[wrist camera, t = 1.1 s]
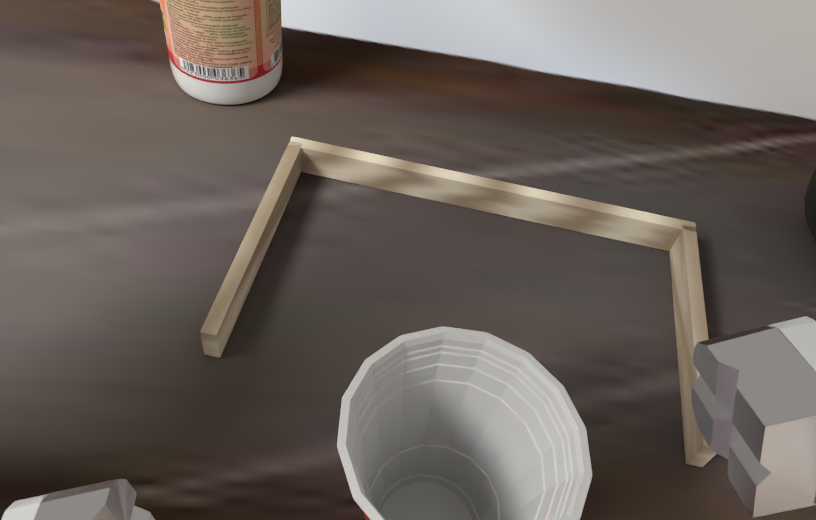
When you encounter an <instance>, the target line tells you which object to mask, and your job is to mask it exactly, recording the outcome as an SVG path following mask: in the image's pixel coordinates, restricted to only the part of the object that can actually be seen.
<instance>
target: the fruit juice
mask: <svg viewBox="0 0 816 520" xmlns="http://www.w3.org/2000/svg"><path fill="white" fill-rule="evenodd" d="M159 1H160V6H161V12H162V18H163V24H164V30H165V35H166V41H167V47H168V53H169V59H170V64H171V69H172V72H173V75H174V78H175V80H176V82H177V83H178V85H179V86H180V87H181V89H182V90H183V91H185V92H186V93H187V94H189V95H190V96H192V97H194V98H196V99H198V100H201V101H204V102H208V103H213V104H221V105H235V104H242V103H247V102H251V101H254V100H257V99H259V98H261V97H263V96H265V95H267V94H268V93H270V92H271V91H272V90H273V89H274V88H275V87H276V85H277V84H278V82H279V80H280V77H281V73H282V64H283V63H282V29H281V0H159Z"/></svg>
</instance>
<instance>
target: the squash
mask: <svg viewBox="0 0 816 520" xmlns="http://www.w3.org/2000/svg"><path fill="white" fill-rule="evenodd" d="M805 216H806V220H807V223H808V226H809V228H810V230H811V231H812V233H813V235H814V236H815V241H816V170H815V171H814V173H813V175H812V177H811V179H810V182H809V185H808V188H807V191H806V194H805Z"/></svg>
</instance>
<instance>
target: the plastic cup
mask: <svg viewBox="0 0 816 520" xmlns="http://www.w3.org/2000/svg"><path fill="white" fill-rule="evenodd" d="M337 448H338V452H339V455H340V458H341V461H342V464H343V468H344V471H345V474H346V477H347V480H348V483H349V487H350V490H351V493H352V496H353V499H354V501H355V502H356V503H357V504H358V505H359V507H360V508H361V509H362V510H363V513H364V517H365V520H580V518H581V514H582V511H583V507H584V504H585V500H586V497H587V493H588V490H589V486H590V483H591V479H592V469H591V461H590V454H589V446H588V439H587V431H586V427H585V425H584V423H583V422H582V420H581V418H580V416H579V414H578V412H577V410H576V408H575V407H574V405H573V403H572V401H571V399H570V397H569V395H568V393H567V391H566V390H565V388H564V386H563V385H562V384H561V383H560V382H559V381H558V380H557V379H556V378H555V377H554V376H553V375H552V374H551V373H550V372H548V371H547V370H546V369H545V368H544V367H543V366H542V365H541V364H540V363H539V362H538V361H537V360H536V359H535V358H534V357H533V356H532V355H531V354H530V353H528V352H526V351H524V350H522V349H520V348H518V347H516V346H514V345H512V344H510V343H508V342H506V341H504V340H502V339H500V338H498V337H496V336H494V335H492V334H489V333H487V332H480V331H473V330H466V329H459V328H452V327H445V326H442V327H437V328H432V329H428V330H423V331H418V332H414V333H409V334H404V335H400V336H399V337H397V338H396V339H394V340H393V341H391V342H390V343H389V344H387V345H386V346H384V347H383V348H381V349H380V350H378V351H377V352H375V353H374V354H373V355H371V356H370V357H368V358H367V359H365V360H364V362H363V364H362V365H361V367H360V369H359V370H358V372H357V374H356V375H355V377H354V379H353V380H352V382H351V384H350V385H349V387H348V389H347V390H346V392H345V394H344V395H343V397H342V402H341V412H340V421H339V430H338V439H337Z"/></svg>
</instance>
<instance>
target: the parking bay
mask: <svg viewBox="0 0 816 520" xmlns="http://www.w3.org/2000/svg"><path fill="white" fill-rule="evenodd" d="M301 172H304V173H308V174H313V175H318V176H322V177H327V178H332V179H336V180H341V181H346V182H350V183H355V184H359V185H364V186H369V187H373V188H378V189H383V190H387V191H392V192H397V193H401V194H406V195H410V196H415V197H420V198H424V199H429V200H434V201H438V202H443V203H448V204H452V205H457V206H461V207H466V208H471V209H475V210H480V211H485V212H489V213H494V214H499V215H503V216H508V217H512V218H517V219H522V220H526V221H531V222H536V223H540V224H545V225H550V226H554V227H559V228H563V229H568V230H573V231H577V232H582V233H587V234H591V235H596V236H600V237H605V238H610V239H614V240H619V241H624V242H628V243H633V244H638V245H642V246H647V247H651V248H656V249H661V250H665V251H670V264H671V278H672V291H673V304H674V317H675V330H676V343H677V356H678V369H679V382H680V395H681V408H682V421H683V434H684V447H685V460H686V464H689V465H693V466H698V467H703V466H704V465H705V464H707V463H708V462H709V461H710V460H711V459H712V458H713V457H714V456H715V455H716V454H717V453H715V452H713V451H711V449H710V448H709V446H708V444H707V443H706V441H705V439H704V437H703V436H702V434H701V431H700V429H699V427H698V424H697V422H696V419H695V415H694V410H693V406H692V385H693V383H694V382H695V381H696V380H697V378H698V377H699V376H700V373H699V372H698V370H697V369H696V367H695V366H694V364H693V352H694V348H695V346H696V344H697V342H701V341H705V340H709V339H708V330H707V321H706V312H705V304H704V295H703V286H702V277H701V268H700V260H699V251H698V242H697V233H696V224H695V223H694V222H690V221H685V220H680V219H676V218H671V217H666V216H662V215H657V214H652V213H648V212H643V211H638V210H634V209H629V208H624V207H620V206H615V205H610V204H606V203H601V202H596V201H592V200H587V199H582V198H578V197H573V196H568V195H563V194H559V193H554V192H549V191H545V190H540V189H535V188H531V187H526V186H521V185H517V184H512V183H507V182H503V181H498V180H493V179H489V178H484V177H479V176H475V175H470V174H465V173H461V172H456V171H451V170H447V169H442V168H437V167H433V166H428V165H423V164H419V163H414V162H409V161H405V160H400V159H395V158H391V157H386V156H381V155H377V154H372V153H367V152H362V151H358V150H353V149H348V148H344V147H339V146H334V145H330V144H325V143H320V142H316V141H311V140H306V139H302V138H297V137H291V140H290V142H289V144H288V146H287V148H286V150H285V152H284V154H283V157H282V159H281V161H280V163H279V165H278V167H277V169H276V171H275V174H274V176H273V178H272V180H271V182H270V184H269V186H268V188H267V190H266V193H265V195H264V197H263V199H262V201H261V203H260V205H259V207H258V210H257V212H256V214H255V216H254V218H253V220H252V222H251V224H250V227H249V229H248V231H247V233H246V235H245V237H244V239H243V241H242V243H241V246H240V248H239V250H238V252H237V254H236V256H235V258H234V260H233V263H232V265H231V267H230V269H229V271H228V273H227V275H226V277H225V279H224V282H223V284H222V286H221V288H220V290H219V292H218V294H217V296H216V299H215V301H214V303H213V305H212V307H211V309H210V311H209V313H208V316H207V318H206V320H205V322H204V324H203V326H202V328H201V330H200V335H201V340H202V345H203V350H204V355H209V356H213V357H217V358H220V357H221V355H222V353H223V350H224V348H225V346H226V343H227V341H228V339H229V337H230V334H231V332H232V330H233V327H234V325H235V323H236V320H237V318H238V316H239V314H240V311H241V309H242V307H243V304H244V302H245V300H246V297H247V295H248V293H249V291H250V288H251V286H252V284H253V281H254V279H255V277H256V275H257V272H258V270H259V268H260V265H261V263H262V261H263V258H264V256H265V254H266V252H267V249H268V247H269V245H270V242H271V240H272V238H273V235H274V233H275V231H276V229H277V226H278V224H279V222H280V219H281V217H282V215H283V212H284V210H285V208H286V206H287V203H288V201H289V199H290V196H291V194H292V192H293V189H294V187H295V185H296V183H297V180H298V178H299V176H300V173H301Z"/></svg>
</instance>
